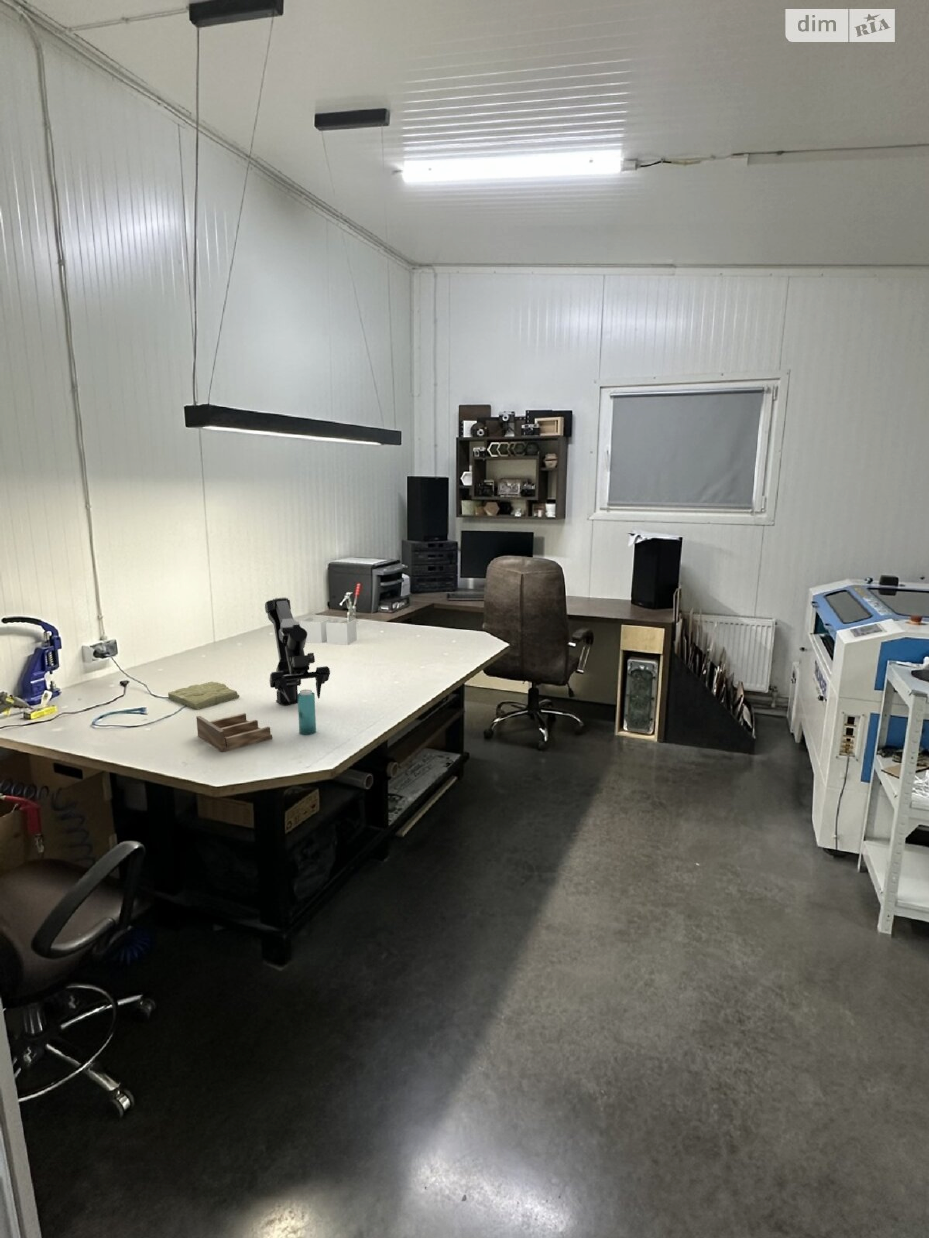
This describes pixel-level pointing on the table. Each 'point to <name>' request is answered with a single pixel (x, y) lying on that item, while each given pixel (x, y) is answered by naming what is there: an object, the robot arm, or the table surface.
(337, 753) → the table surface
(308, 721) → the spray can
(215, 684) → the decorative tile
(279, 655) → the robot arm
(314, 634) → the storage container
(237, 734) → the rack
